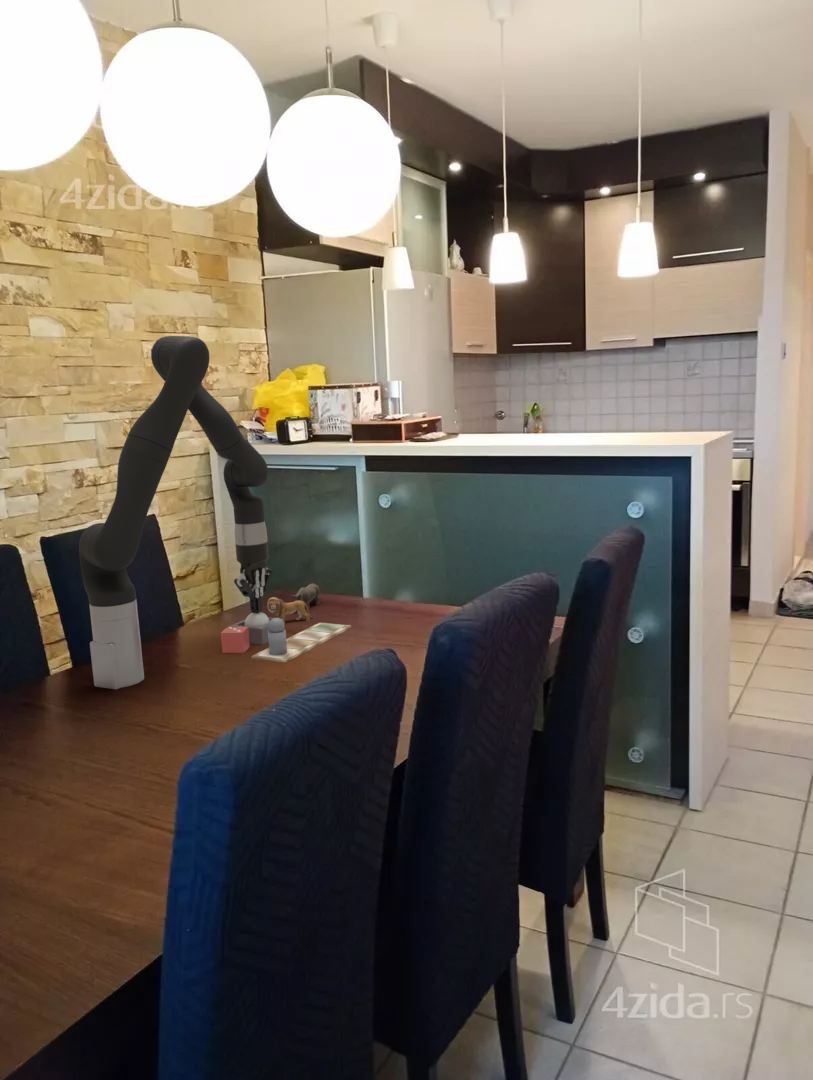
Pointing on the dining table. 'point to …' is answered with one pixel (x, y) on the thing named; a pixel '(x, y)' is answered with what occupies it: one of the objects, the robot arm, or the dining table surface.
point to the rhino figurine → (308, 594)
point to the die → (235, 640)
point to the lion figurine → (287, 608)
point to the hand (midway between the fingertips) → (256, 612)
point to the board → (304, 641)
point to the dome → (257, 620)
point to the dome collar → (256, 632)
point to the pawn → (277, 637)
